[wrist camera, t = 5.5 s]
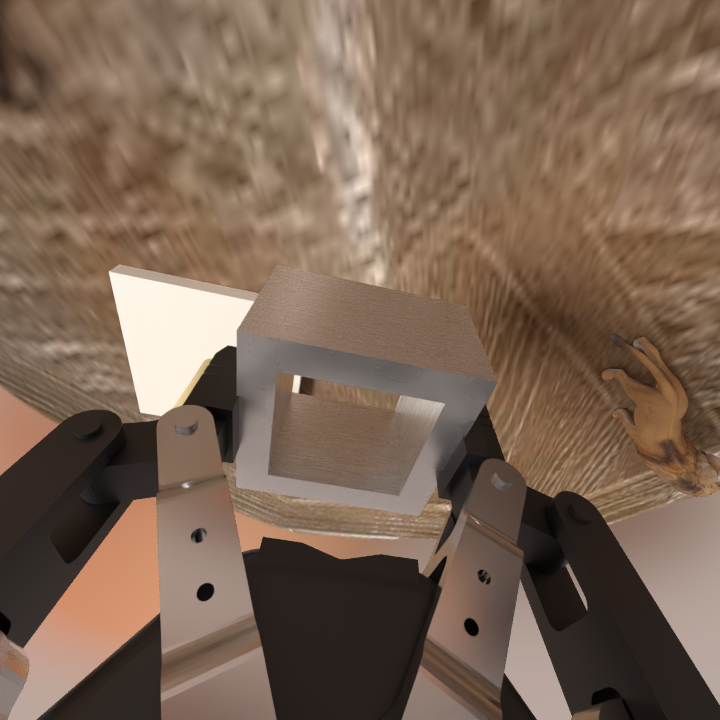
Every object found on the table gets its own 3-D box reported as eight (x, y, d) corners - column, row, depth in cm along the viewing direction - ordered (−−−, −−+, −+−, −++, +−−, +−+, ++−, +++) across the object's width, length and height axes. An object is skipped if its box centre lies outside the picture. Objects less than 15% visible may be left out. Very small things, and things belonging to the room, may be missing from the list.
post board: (312, 304, 30) (294, 363, 24) (294, 428, 40) (276, 495, 33) (119, 264, 29) (40, 315, 22) (148, 402, 38) (98, 468, 32)
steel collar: (465, 305, 12) (498, 382, 9) (410, 430, 16) (418, 516, 12) (277, 264, 11) (236, 330, 8) (266, 404, 15) (236, 487, 12)
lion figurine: (675, 416, 37) (748, 494, 29) (620, 436, 39) (676, 513, 32) (639, 317, 30) (723, 385, 23) (575, 347, 32) (633, 419, 25)
